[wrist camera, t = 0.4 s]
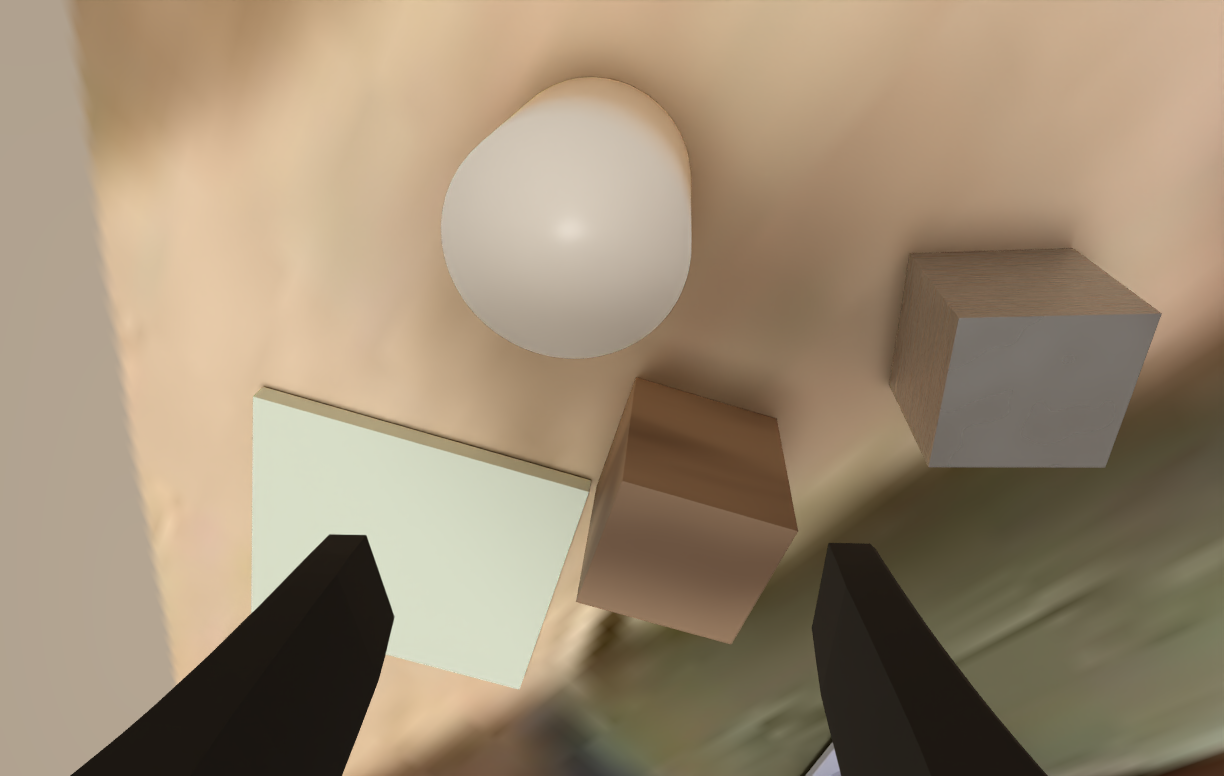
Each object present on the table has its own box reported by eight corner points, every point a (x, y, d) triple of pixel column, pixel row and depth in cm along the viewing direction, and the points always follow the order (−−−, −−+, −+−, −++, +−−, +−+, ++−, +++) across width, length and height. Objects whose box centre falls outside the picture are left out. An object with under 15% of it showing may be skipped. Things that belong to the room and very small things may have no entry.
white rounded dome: (656, 294, 20) (647, 386, 15) (483, 241, 19) (425, 320, 15) (719, 113, 17) (729, 163, 13) (520, 48, 17) (463, 77, 12)
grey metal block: (1033, 381, 20) (1105, 467, 16) (888, 383, 20) (928, 467, 17) (1071, 247, 18) (1161, 313, 14) (908, 252, 18) (959, 318, 15)
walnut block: (723, 522, 24) (731, 644, 19) (596, 485, 23) (575, 601, 19) (776, 418, 21) (797, 531, 17) (636, 376, 21) (622, 480, 17)
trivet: (522, 676, 29) (519, 689, 28) (259, 607, 28) (251, 619, 28) (591, 480, 23) (588, 492, 23) (263, 386, 22) (253, 396, 22)
